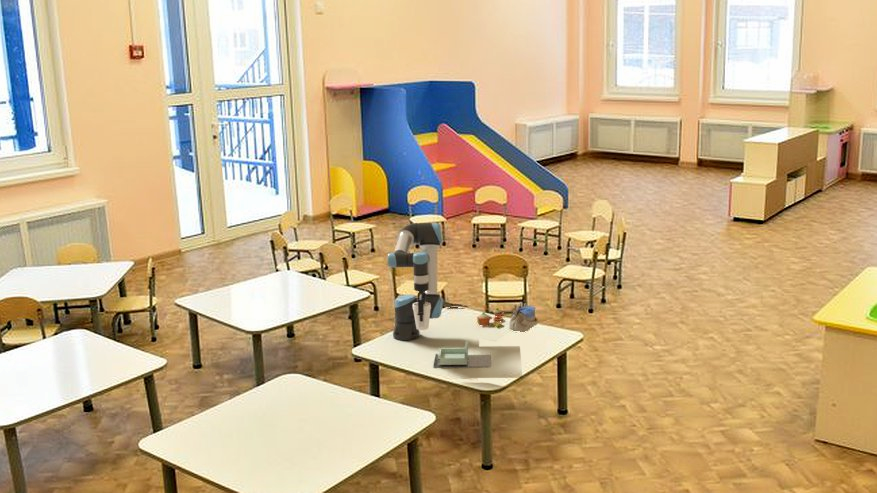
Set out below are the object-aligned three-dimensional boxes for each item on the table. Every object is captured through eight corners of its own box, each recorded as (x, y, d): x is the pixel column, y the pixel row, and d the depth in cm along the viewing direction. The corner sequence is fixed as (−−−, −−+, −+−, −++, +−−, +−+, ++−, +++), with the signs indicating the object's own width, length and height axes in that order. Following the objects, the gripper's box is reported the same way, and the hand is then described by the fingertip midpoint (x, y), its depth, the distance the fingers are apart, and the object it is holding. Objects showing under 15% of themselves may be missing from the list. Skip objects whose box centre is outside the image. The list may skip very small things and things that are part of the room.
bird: (470, 312, 538) (469, 297, 536) (466, 316, 531) (466, 300, 529) (442, 310, 544) (442, 295, 542) (438, 314, 537) (438, 298, 535)
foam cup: (432, 325, 456) (431, 301, 453) (430, 330, 447) (429, 306, 444) (414, 325, 457) (413, 301, 454) (412, 330, 448) (411, 306, 445)
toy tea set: (503, 331, 500) (502, 315, 498) (476, 330, 503) (476, 314, 501) (506, 318, 525) (506, 302, 523) (481, 317, 528) (480, 302, 526)
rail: (435, 355, 461) (435, 353, 460) (490, 355, 459) (490, 353, 458) (433, 367, 443) (433, 365, 443) (490, 367, 441) (490, 364, 441)
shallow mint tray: (439, 354, 460) (439, 341, 459) (468, 354, 459) (467, 341, 458) (437, 366, 443) (437, 352, 442) (467, 365, 442) (466, 352, 441)
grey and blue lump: (520, 320, 520) (519, 294, 516) (545, 323, 513) (545, 296, 509) (503, 332, 497) (503, 305, 494) (530, 335, 490) (530, 308, 486)
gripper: (416, 277, 458) (417, 318, 462) (411, 287, 436) (413, 330, 441) (430, 277, 457) (431, 317, 462) (426, 287, 436) (428, 330, 440)
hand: (422, 324), depth 451 cm, fingers closed on foam cup, 9 cm apart
